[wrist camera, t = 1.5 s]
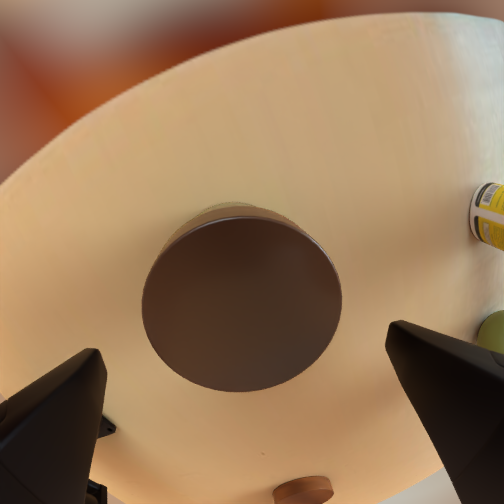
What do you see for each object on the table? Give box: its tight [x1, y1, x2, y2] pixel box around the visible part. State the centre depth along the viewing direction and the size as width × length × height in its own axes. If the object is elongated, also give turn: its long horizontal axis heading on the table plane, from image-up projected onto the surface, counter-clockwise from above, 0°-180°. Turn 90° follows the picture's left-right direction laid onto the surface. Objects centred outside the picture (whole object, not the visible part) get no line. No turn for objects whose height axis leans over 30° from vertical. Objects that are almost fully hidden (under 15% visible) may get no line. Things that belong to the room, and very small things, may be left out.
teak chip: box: [273, 476, 334, 504], centre depth 25 cm, size 7×7×2 cm
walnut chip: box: [142, 206, 342, 392], centre depth 11 cm, size 7×7×2 cm
